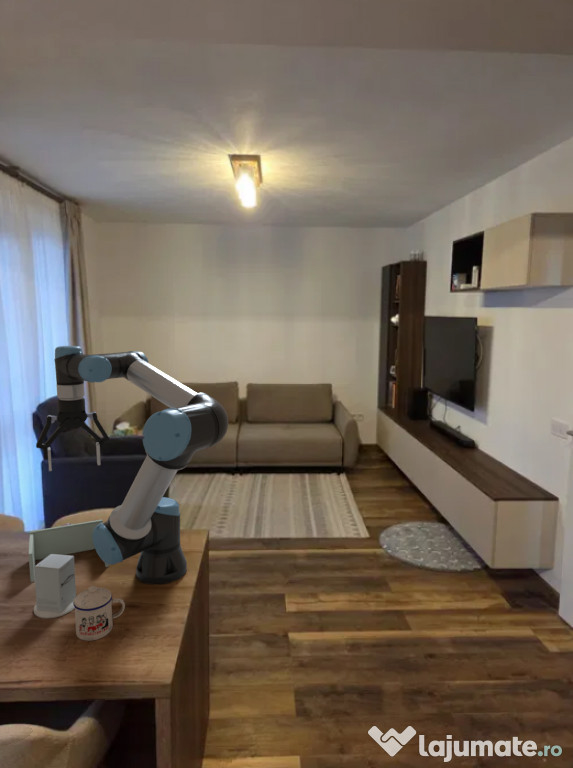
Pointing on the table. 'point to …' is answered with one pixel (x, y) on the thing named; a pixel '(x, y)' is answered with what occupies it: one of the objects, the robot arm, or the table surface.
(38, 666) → the table surface
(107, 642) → the table surface
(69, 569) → the supplement box
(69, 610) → the coaster
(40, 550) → the three-sided green enclosure
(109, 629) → the teacup with lid
